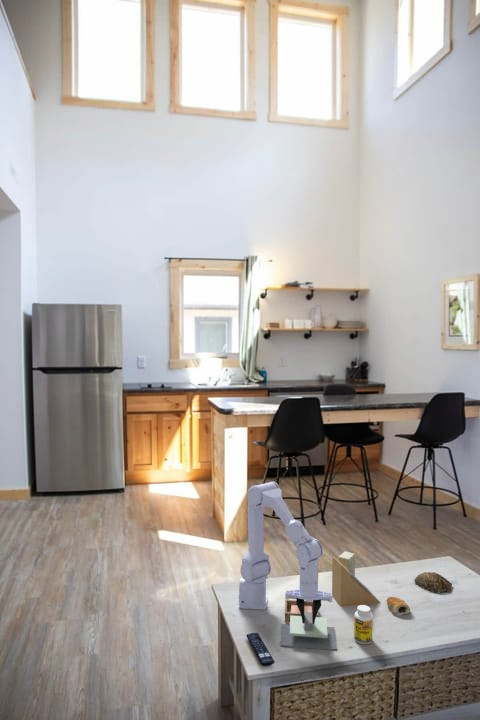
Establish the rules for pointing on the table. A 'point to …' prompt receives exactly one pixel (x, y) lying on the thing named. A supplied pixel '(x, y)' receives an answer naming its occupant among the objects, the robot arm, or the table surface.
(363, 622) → the supplement bottle
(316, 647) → the slate mat
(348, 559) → the skincare box
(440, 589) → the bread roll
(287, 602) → the walnut box
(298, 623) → the lid
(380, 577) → the table surface
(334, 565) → the sandwich container
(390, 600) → the pastry
